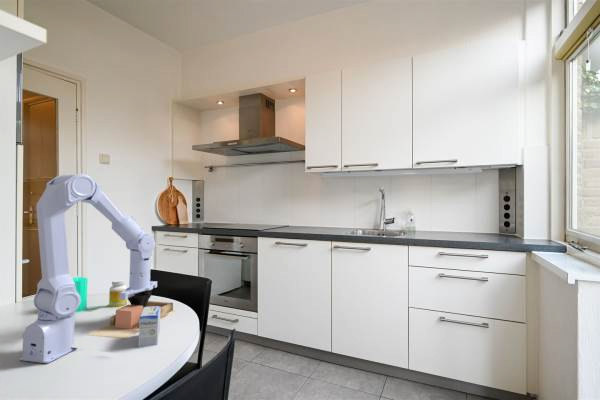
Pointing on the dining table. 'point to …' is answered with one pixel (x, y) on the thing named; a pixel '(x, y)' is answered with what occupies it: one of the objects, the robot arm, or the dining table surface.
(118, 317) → the block
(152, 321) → the medicine box
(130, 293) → the robot arm
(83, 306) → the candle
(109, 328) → the tray
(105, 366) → the dining table surface
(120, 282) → the supplement bottle
